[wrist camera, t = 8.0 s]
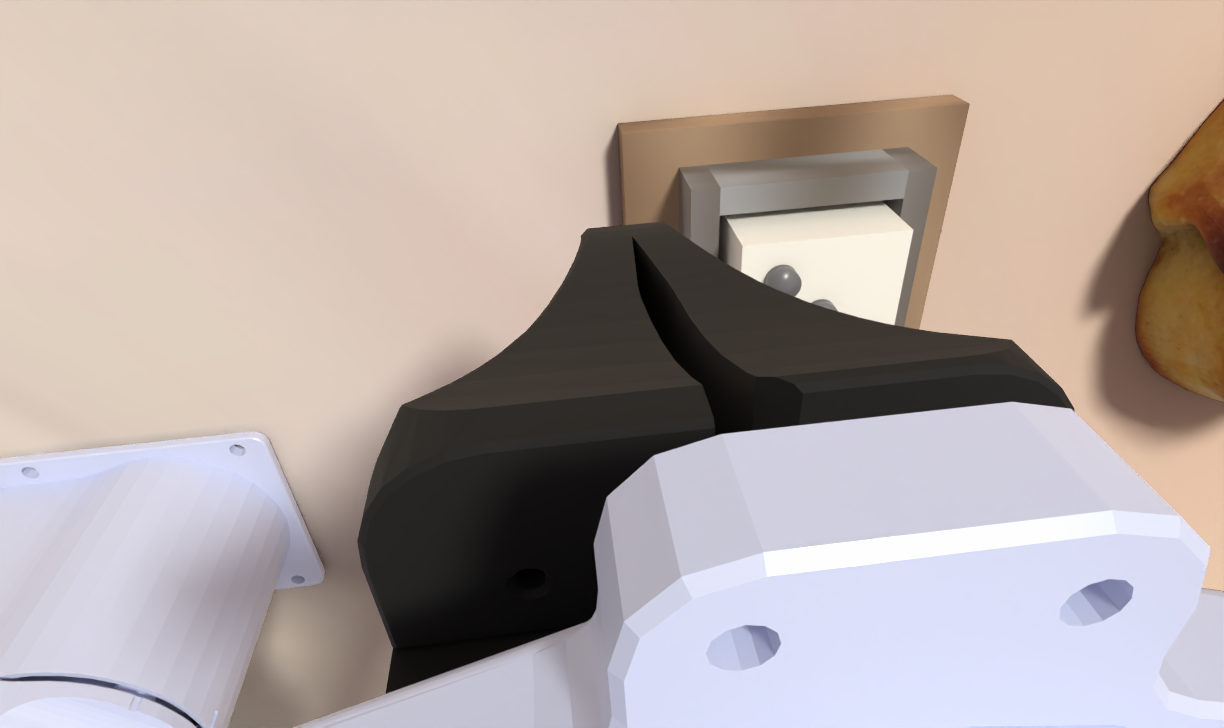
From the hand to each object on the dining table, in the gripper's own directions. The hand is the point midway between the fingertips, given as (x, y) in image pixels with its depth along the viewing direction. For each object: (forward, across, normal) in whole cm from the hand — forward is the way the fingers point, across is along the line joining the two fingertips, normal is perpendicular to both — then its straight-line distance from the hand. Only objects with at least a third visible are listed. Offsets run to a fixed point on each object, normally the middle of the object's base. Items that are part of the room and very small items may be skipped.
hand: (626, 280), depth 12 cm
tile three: (+9, -6, +5) cm, 12 cm away
